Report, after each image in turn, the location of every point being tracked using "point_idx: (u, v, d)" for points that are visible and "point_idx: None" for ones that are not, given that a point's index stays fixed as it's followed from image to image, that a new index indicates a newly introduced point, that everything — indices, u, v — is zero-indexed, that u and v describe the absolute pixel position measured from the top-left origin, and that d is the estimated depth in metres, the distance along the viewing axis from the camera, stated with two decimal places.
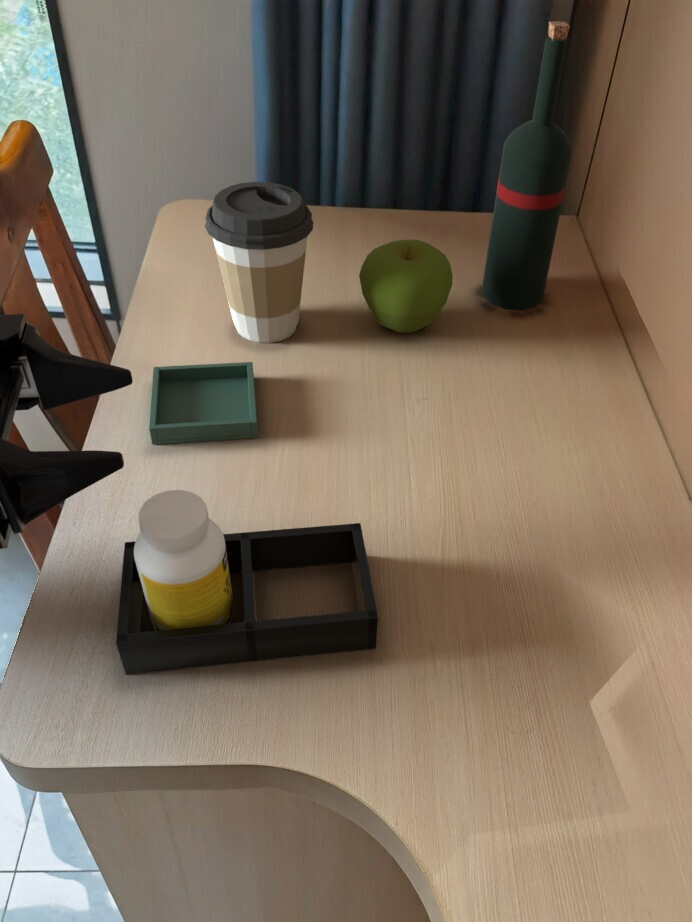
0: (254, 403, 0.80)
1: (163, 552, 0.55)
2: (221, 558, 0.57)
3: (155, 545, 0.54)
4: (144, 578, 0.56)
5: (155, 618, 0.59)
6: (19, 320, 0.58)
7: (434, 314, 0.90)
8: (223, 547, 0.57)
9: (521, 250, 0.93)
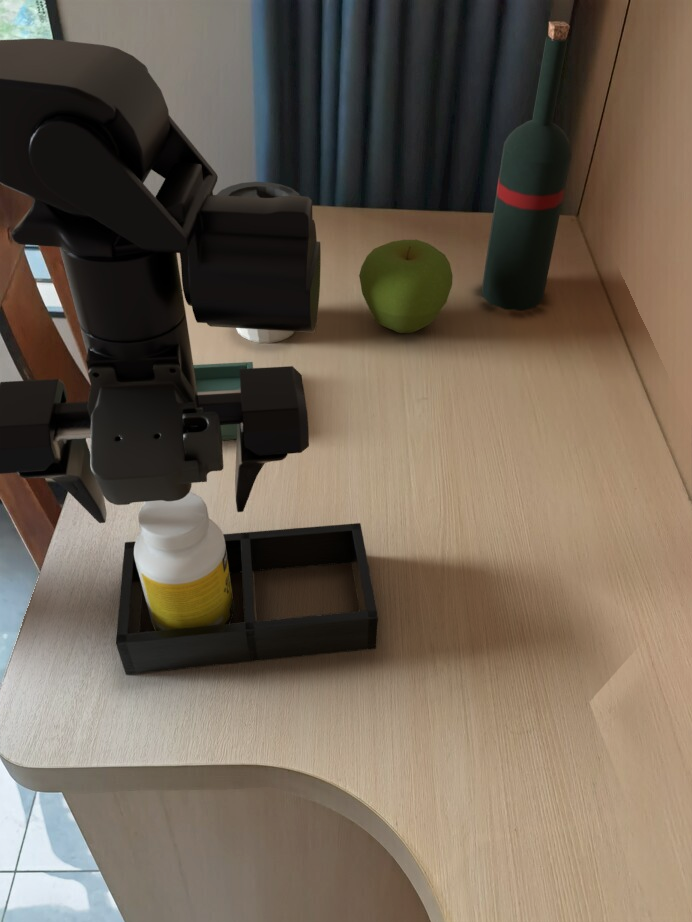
0: None
1: (163, 552, 0.55)
2: (221, 558, 0.57)
3: (155, 545, 0.54)
4: (144, 578, 0.56)
5: (155, 618, 0.59)
6: (285, 452, 0.49)
7: (434, 314, 0.90)
8: (223, 547, 0.57)
9: (521, 250, 0.93)
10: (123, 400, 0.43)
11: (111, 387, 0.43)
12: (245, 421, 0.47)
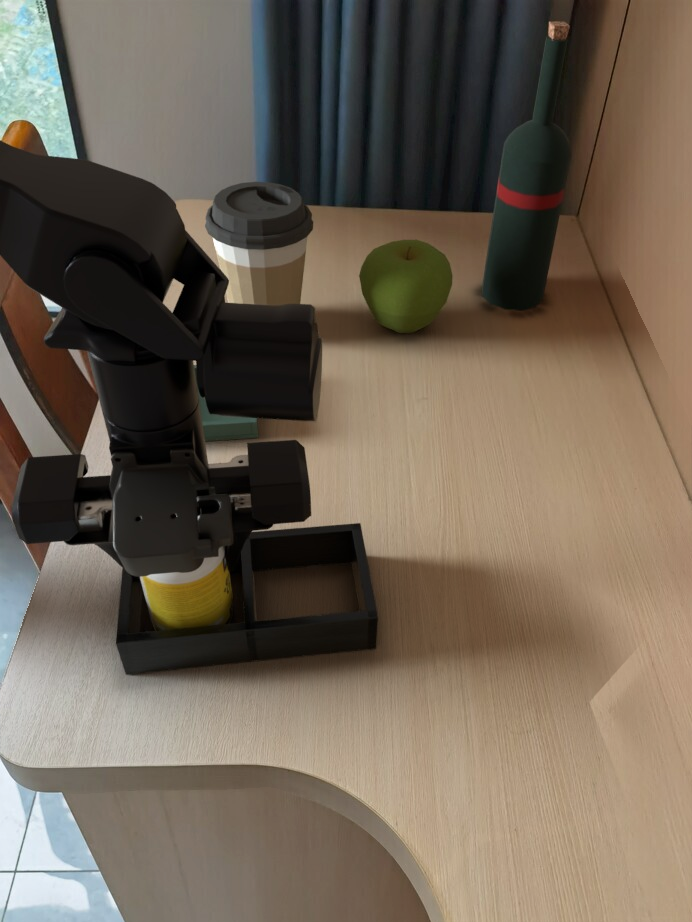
0: None
1: None
2: (222, 558, 0.57)
3: None
4: (145, 578, 0.56)
5: (155, 618, 0.59)
6: (289, 521, 0.53)
7: (434, 314, 0.90)
8: (223, 547, 0.57)
9: (521, 250, 0.93)
10: (142, 482, 0.47)
11: (131, 470, 0.48)
12: (253, 495, 0.52)
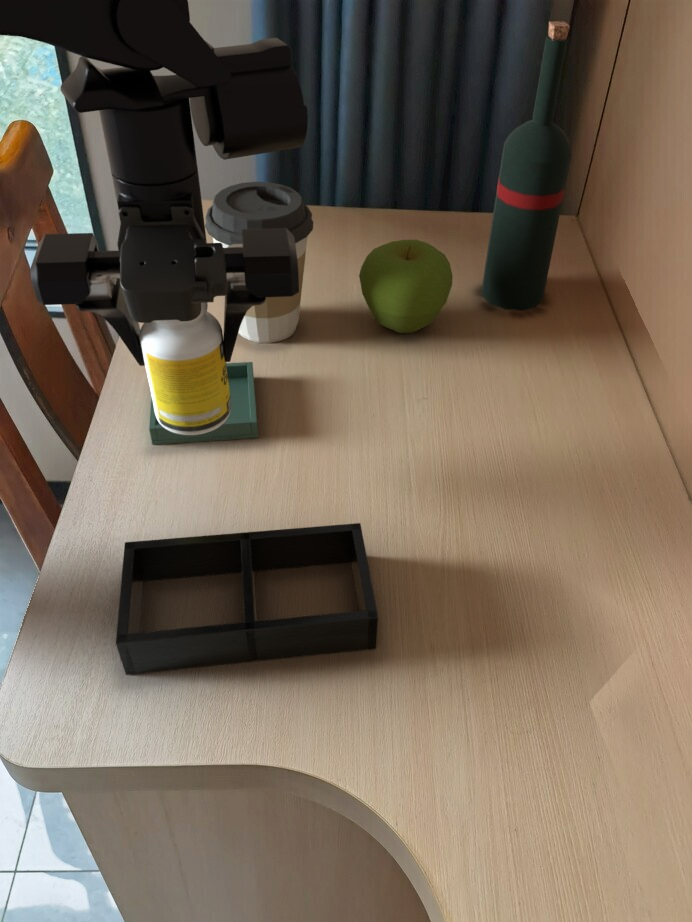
0: (254, 403, 0.80)
1: (166, 329, 0.61)
2: (219, 343, 0.63)
3: (158, 321, 0.60)
4: (149, 357, 0.62)
5: (158, 405, 0.65)
6: (279, 295, 0.59)
7: (434, 314, 0.90)
8: (220, 334, 0.63)
9: (521, 250, 0.93)
10: (146, 235, 0.53)
11: (137, 225, 0.53)
12: (246, 265, 0.57)
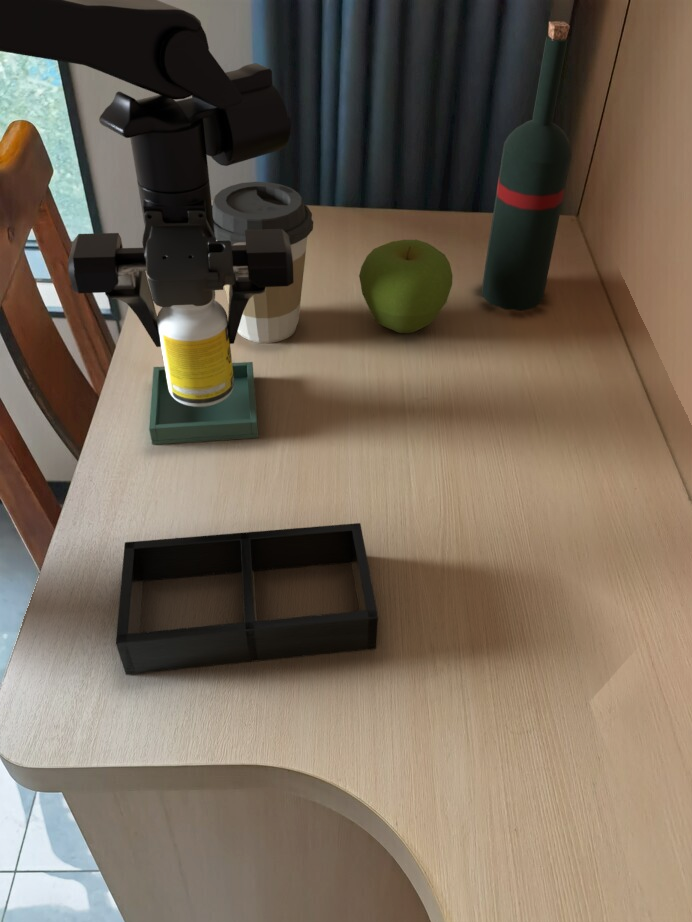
0: (254, 403, 0.80)
1: (180, 314, 0.72)
2: (224, 327, 0.74)
3: (174, 307, 0.71)
4: (165, 338, 0.73)
5: (172, 380, 0.76)
6: (277, 285, 0.70)
7: (434, 314, 0.90)
8: (226, 319, 0.74)
9: (521, 250, 0.93)
10: (167, 234, 0.64)
11: (159, 226, 0.64)
12: (249, 260, 0.68)
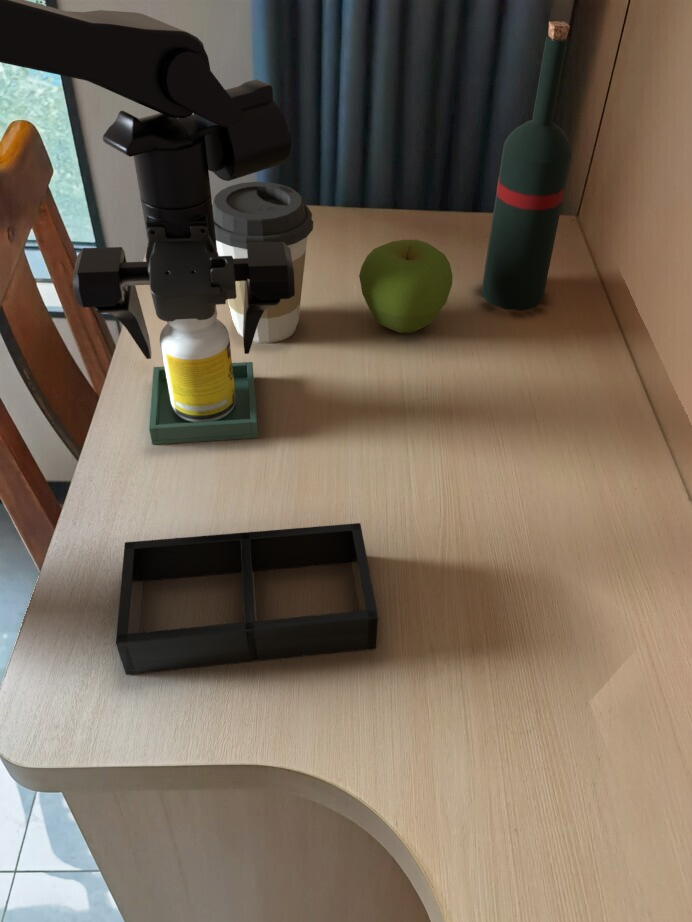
0: (254, 403, 0.80)
1: (183, 334, 0.73)
2: (226, 345, 0.75)
3: (177, 326, 0.72)
4: (168, 357, 0.74)
5: (175, 397, 0.78)
6: (278, 298, 0.71)
7: (434, 314, 0.90)
8: (227, 337, 0.76)
9: (521, 250, 0.93)
10: (170, 250, 0.65)
11: (162, 241, 0.65)
12: (251, 273, 0.69)
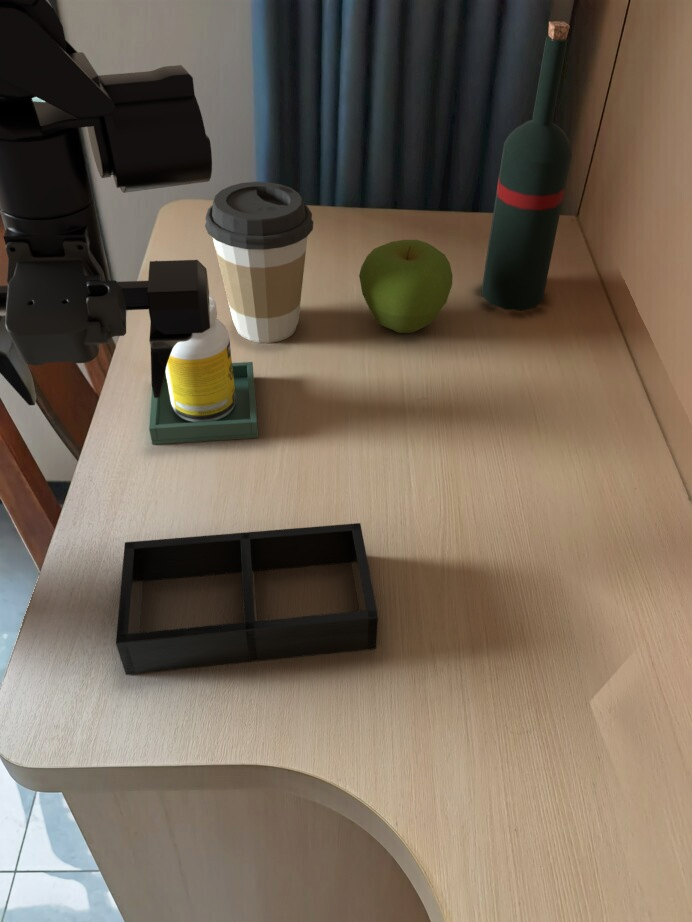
0: (254, 403, 0.80)
1: None
2: (226, 345, 0.75)
3: None
4: None
5: (175, 397, 0.78)
6: (188, 331, 0.55)
7: (434, 314, 0.90)
8: (227, 337, 0.76)
9: (521, 250, 0.93)
10: (36, 272, 0.50)
11: (26, 261, 0.50)
12: (150, 301, 0.54)
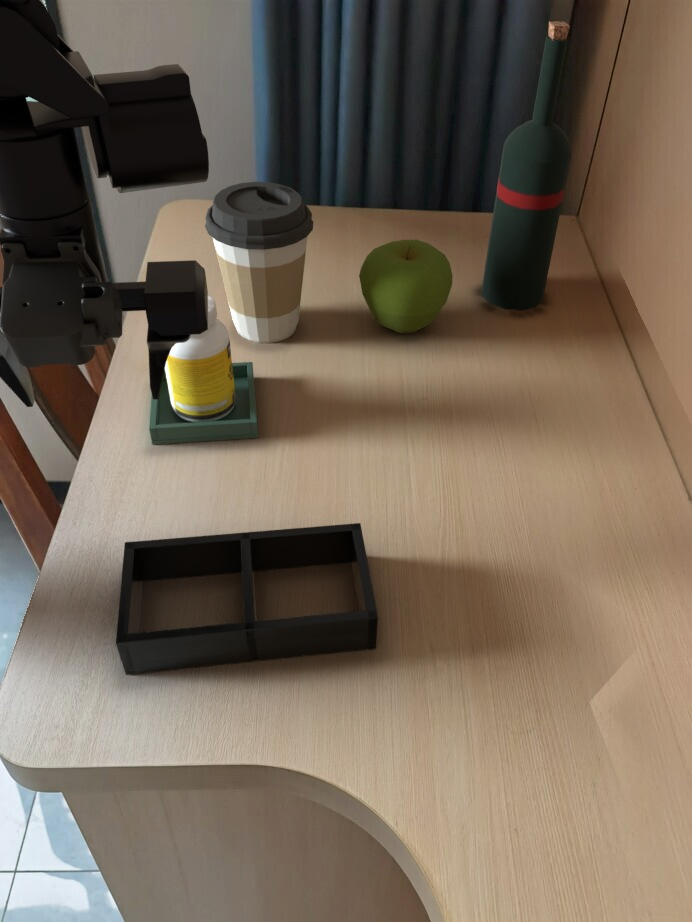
0: (254, 403, 0.80)
1: None
2: (226, 345, 0.75)
3: None
4: (168, 357, 0.74)
5: (175, 397, 0.78)
6: (186, 333, 0.55)
7: (434, 314, 0.90)
8: (227, 337, 0.76)
9: (521, 250, 0.93)
10: (32, 274, 0.49)
11: (22, 263, 0.49)
12: (147, 302, 0.53)
